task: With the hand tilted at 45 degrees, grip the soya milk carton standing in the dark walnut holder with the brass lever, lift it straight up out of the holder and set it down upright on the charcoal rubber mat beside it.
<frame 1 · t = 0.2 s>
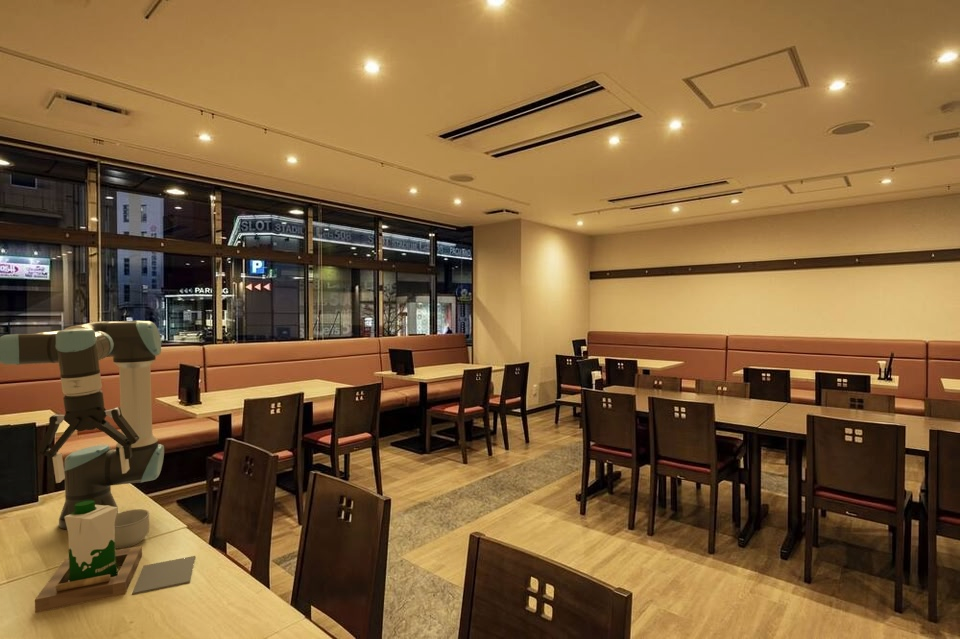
hand: (93, 476, 123), 27 cm above the table, tool pointing down, fingers open, 13 cm apart
soya milk: (94, 582, 125), resting in walnut holder
walnut holder: (94, 581, 125), on the table
teacup: (123, 543, 146), on the table
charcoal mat: (165, 574, 128), on the table
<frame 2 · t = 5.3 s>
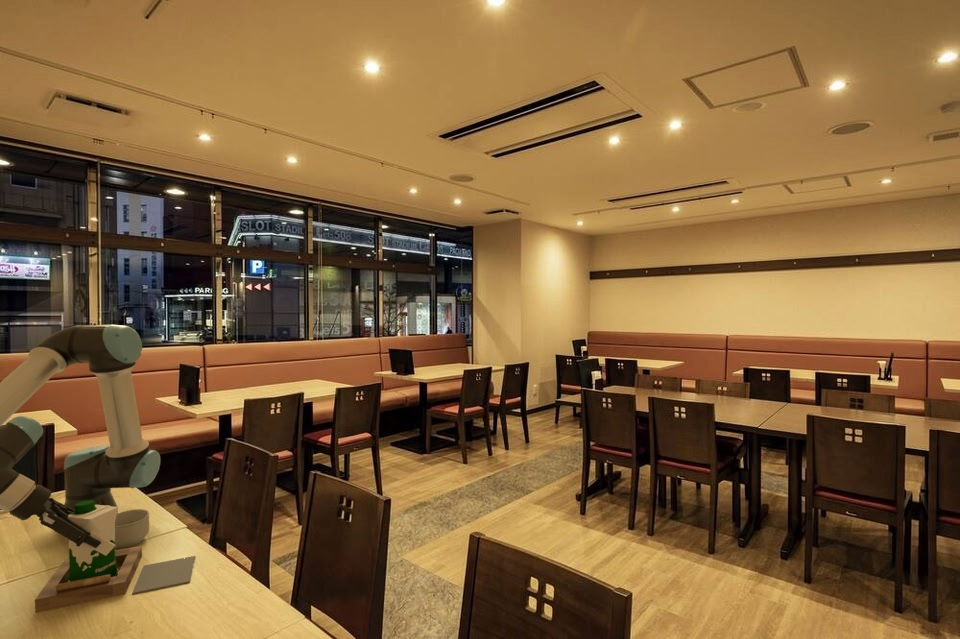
hand: (108, 543, 127), 9 cm above the table, tool tilted 45°, fingers closed on soya milk, 9 cm apart
soya milk: (94, 582, 125), resting in walnut holder, touching gripper
everything else where it was.
when the fingers open (11 cm above the table, at t = 12.7 s): soya milk drops 1 cm, resting on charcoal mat.
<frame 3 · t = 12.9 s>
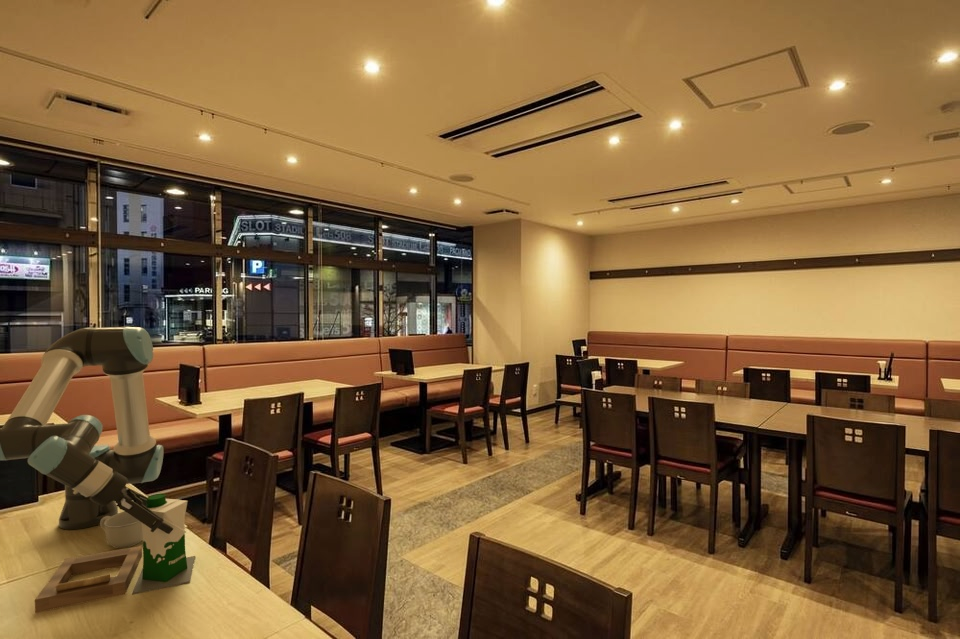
hand: (176, 528, 130), 11 cm above the table, tool tilted 45°, fingers open, 11 cm apart
soya milk: (165, 574, 128), resting on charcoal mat
everything else where it was.
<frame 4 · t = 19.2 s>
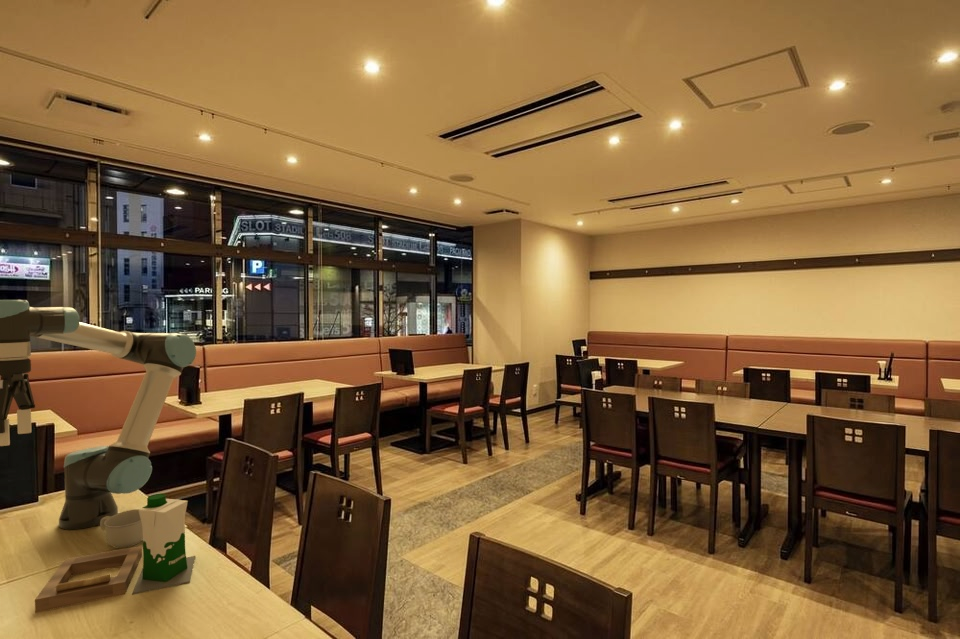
hand: (14, 439, 130), 35 cm above the table, tool pointing down, fingers open, 13 cm apart
nothing on the table moved.
at the end: soya milk inside the target area on the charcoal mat (0.3 cm from its centre), point 0.2 cm above the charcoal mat's base; soya milk tilted 0°; the gripper is holding nothing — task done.
